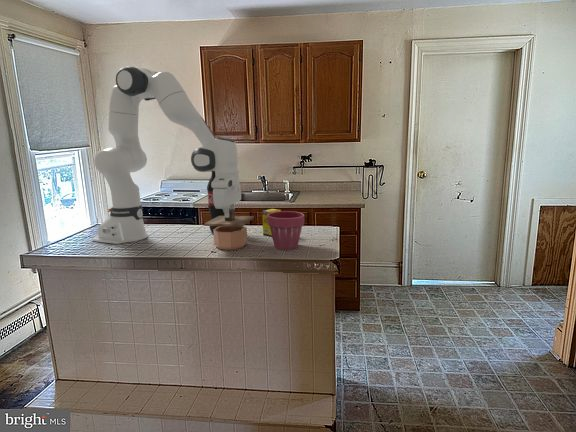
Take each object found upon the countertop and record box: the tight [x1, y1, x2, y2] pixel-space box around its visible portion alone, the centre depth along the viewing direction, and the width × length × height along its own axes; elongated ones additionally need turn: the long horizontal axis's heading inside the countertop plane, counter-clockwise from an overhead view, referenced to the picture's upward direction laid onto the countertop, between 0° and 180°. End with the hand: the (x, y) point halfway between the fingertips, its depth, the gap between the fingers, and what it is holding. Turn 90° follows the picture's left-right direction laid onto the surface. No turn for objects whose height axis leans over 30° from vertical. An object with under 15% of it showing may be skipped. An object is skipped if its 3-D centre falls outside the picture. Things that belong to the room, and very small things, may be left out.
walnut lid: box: [203, 209, 255, 227], centre depth 151 cm, size 15×15×5 cm
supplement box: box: [261, 208, 282, 238], centre depth 168 cm, size 6×6×11 cm
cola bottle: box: [206, 171, 225, 234], centre depth 172 cm, size 8×8×30 cm
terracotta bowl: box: [212, 225, 248, 251], centre depth 153 cm, size 12×12×7 cm
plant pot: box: [267, 210, 305, 251], centre depth 149 cm, size 14×14×13 cm
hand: (229, 216), depth 151 cm, fingers closed on walnut lid, 3 cm apart
